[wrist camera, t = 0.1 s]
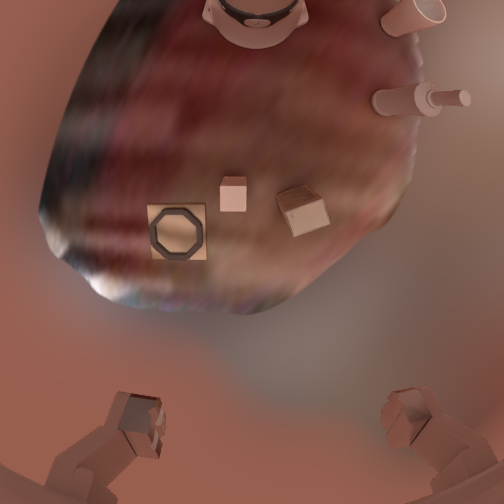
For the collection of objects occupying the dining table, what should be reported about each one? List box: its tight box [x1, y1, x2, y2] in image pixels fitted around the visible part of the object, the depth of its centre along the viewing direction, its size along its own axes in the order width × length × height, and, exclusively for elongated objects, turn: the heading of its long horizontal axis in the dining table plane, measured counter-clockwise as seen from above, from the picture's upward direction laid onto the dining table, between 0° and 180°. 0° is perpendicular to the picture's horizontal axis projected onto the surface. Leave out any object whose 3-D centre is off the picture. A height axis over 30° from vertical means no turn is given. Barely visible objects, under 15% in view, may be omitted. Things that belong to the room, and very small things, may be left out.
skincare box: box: [276, 184, 330, 237], centre depth 49 cm, size 6×4×12 cm
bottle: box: [371, 82, 471, 117], centre depth 36 cm, size 5×5×25 cm
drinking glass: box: [381, 0, 446, 37], centre depth 34 cm, size 7×7×15 cm
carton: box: [220, 176, 247, 212], centre depth 50 cm, size 4×4×9 cm
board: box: [147, 203, 207, 260], centre depth 56 cm, size 11×11×2 cm
